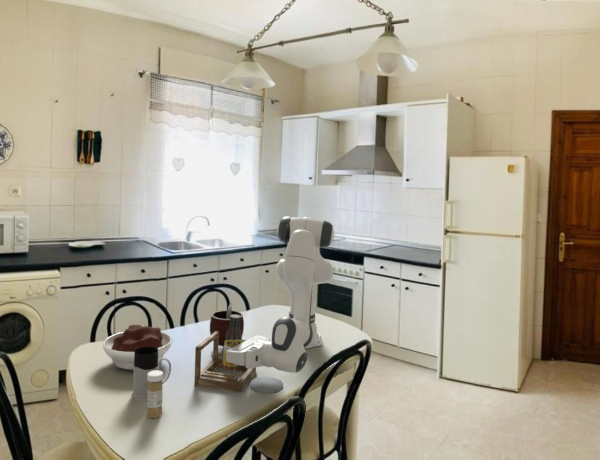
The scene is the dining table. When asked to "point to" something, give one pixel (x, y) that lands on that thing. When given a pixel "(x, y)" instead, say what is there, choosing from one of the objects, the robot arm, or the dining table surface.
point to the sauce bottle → (232, 340)
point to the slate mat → (266, 384)
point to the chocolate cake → (135, 344)
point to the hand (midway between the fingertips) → (230, 344)
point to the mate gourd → (223, 326)
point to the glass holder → (145, 370)
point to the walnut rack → (218, 363)
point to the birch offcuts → (220, 376)
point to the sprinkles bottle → (154, 394)
